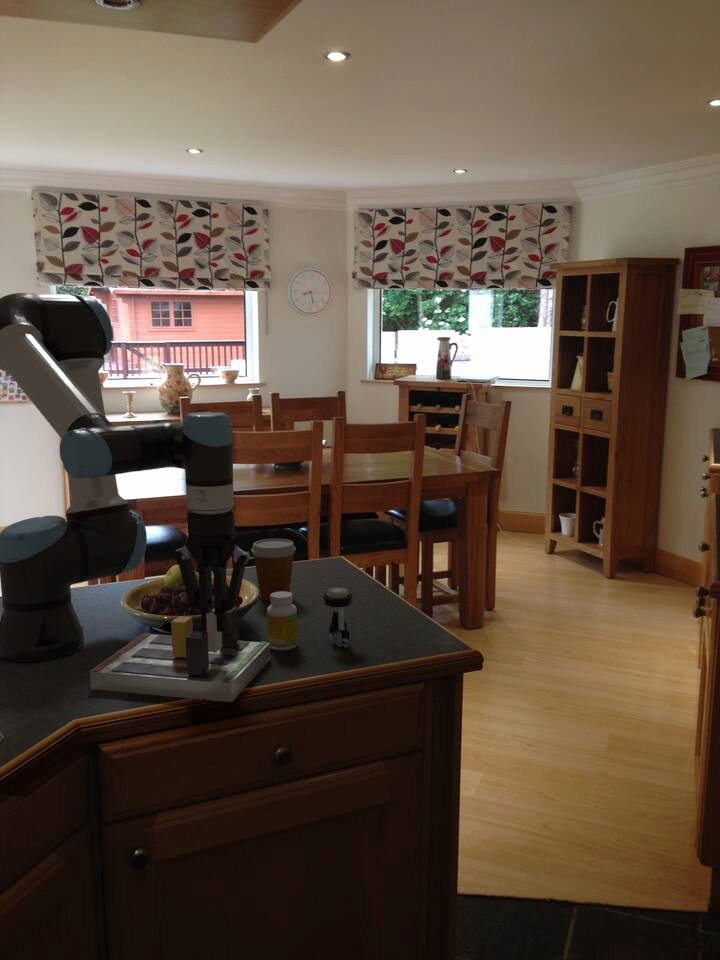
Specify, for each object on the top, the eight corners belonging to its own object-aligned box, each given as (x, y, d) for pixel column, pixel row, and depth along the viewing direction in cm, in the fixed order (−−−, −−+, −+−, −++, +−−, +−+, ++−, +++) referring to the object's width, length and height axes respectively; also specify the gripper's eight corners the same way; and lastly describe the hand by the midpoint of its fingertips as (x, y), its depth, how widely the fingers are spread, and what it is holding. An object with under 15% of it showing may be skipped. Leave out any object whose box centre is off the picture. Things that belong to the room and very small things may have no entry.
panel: (90, 689, 135) (87, 632, 134) (143, 649, 153) (141, 598, 151) (231, 702, 130) (229, 643, 128) (270, 659, 147) (268, 607, 146)
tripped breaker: (172, 656, 139) (171, 621, 138) (180, 650, 142) (179, 615, 141) (186, 657, 139) (184, 622, 138) (193, 651, 142) (192, 616, 141)
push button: (360, 647, 153) (360, 594, 151) (333, 652, 150) (332, 598, 149) (346, 636, 159) (345, 584, 157) (319, 640, 156) (318, 588, 155)
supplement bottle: (289, 652, 150) (288, 600, 149) (262, 649, 152) (261, 597, 151) (302, 642, 155) (301, 591, 154) (275, 639, 157) (274, 588, 156)
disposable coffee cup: (253, 591, 187) (251, 538, 185) (296, 589, 188) (294, 537, 186) (252, 604, 178) (250, 549, 176) (297, 602, 179) (296, 547, 177)
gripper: (162, 512, 133) (168, 654, 137) (240, 515, 130) (244, 660, 134) (182, 503, 140) (187, 638, 144) (256, 506, 138) (260, 644, 142)
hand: (215, 649), depth 139 cm, fingers closed
